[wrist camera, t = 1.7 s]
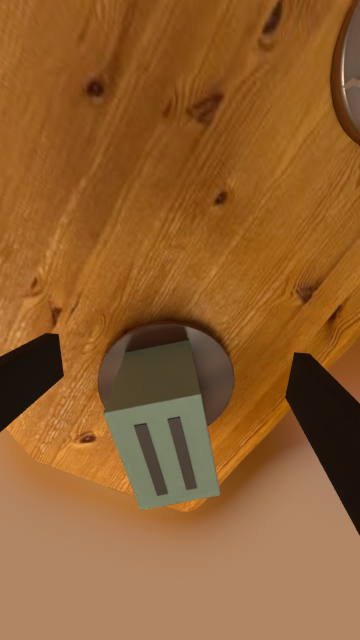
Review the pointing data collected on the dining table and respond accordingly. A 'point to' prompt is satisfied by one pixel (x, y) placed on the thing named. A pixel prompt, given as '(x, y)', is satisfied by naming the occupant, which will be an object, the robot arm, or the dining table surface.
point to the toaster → (166, 408)
